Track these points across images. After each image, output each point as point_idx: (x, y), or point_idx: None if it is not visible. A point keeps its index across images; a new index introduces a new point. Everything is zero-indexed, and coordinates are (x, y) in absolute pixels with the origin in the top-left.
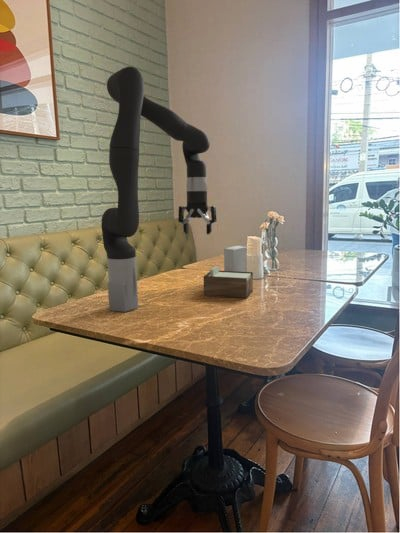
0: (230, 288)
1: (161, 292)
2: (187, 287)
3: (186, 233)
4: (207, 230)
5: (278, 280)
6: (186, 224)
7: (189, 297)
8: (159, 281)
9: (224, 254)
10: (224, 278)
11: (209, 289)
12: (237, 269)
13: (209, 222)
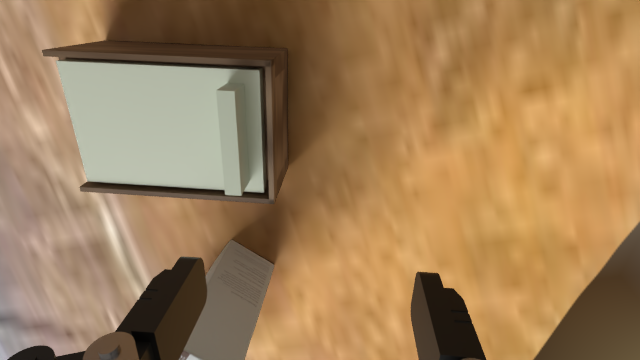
0: (152, 47)
1: (493, 60)
2: (395, 165)
3: (421, 272)
4: (174, 279)
5: (105, 306)
6: (439, 351)
7: (340, 2)
8: (540, 236)
9: (244, 348)
10: (158, 54)
11: (255, 50)
12: None
13: (94, 350)
